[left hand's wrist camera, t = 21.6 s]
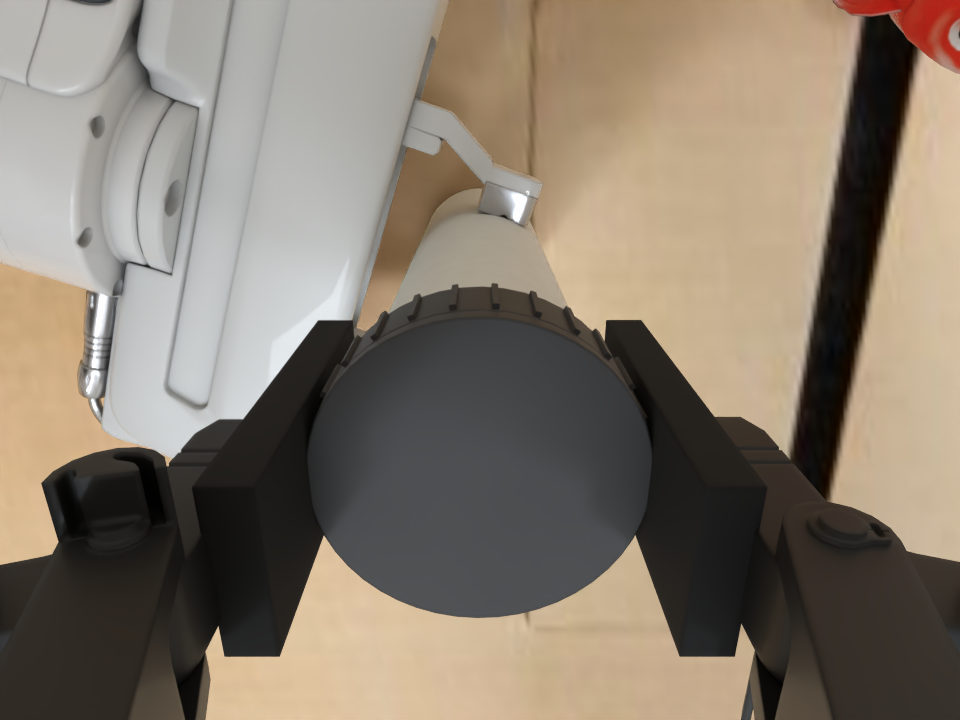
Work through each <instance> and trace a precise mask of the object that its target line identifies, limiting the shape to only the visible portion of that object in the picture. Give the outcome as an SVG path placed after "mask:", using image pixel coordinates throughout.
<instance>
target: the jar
mask: <svg viewBox="0 0 960 720" xmlns="http://www.w3.org/2000/svg"><path fill="white" fill-rule="evenodd" d="M482 189H483V188H475V189H468V190H465V191H461V192H459V193H457V194H454V195H453V196H451V197H449V198H448V199H447V200H445V201H444V202H443V203H442V204H441V205H440V206H439V207H438V208H437V210H436V211H435V212H434V214H433V215H432V217H431V219H430V221H429V223H428V226H427V228H426V230H425V232H424V235H423V237H422V239H421V241H420V244H419V246H418V248H417V250H416V253H415V255H414V257H413V259H412V262H411V264H410V266H409V268H408V271H407V273H406V275H405V277H404V280H403V282H402V284H401V286H400V289H399V291H398V293H397V295H396V298H395V300H394V302H393V304H392V307H391V309H390V311H389V313H391V312H392V311H394V310H395V309H397V308H399V307H400V306H402V305H404V304H407V303H409V302H411V301H413V298H414V295H417V294H419V293H420V295H421V297H423V296H426V295H429V294H432V293H436V292H439V291H444V290H450V289H451V288H452V285H455V284H458V286H459V288H461V287H482V286H483V287H491V284H492V283H497V284H498V288H505V289H510V290H515V291H520V292H525V293H528V294H529V293H530V291H534V292H536V293H537V296H538V297H539V298H542V299H545V300H547V301H549V302H551V303H553V304H555V305H557V306H559V307H561V308H563V309H564V308H565V307H566V306H567V303H566V301H565V299H564V297H563V294H562V292H561V290H560V287H559V285H558V283H557V281H556V278H555V276H554V274H553V272H552V269H551V267H550V265H549V263H548V260H547V258H546V256H545V254H544V251H543V249H542V247H541V245H540V242H539V240H538V238H537V236H536V233H535V231H534V229H533V227H532V224H531V222H530V221H529V223H528V226H523V225H520V224H516V223H514V222H512V221H510V220H509V219H508V218H507V216H506V215H501V216H495V215H490V214H488V213H485V212H482V211H479V210H478V201H479V198H480V195H481V192H482ZM567 307H568V306H567ZM389 313H388V314H389Z"/></svg>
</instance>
